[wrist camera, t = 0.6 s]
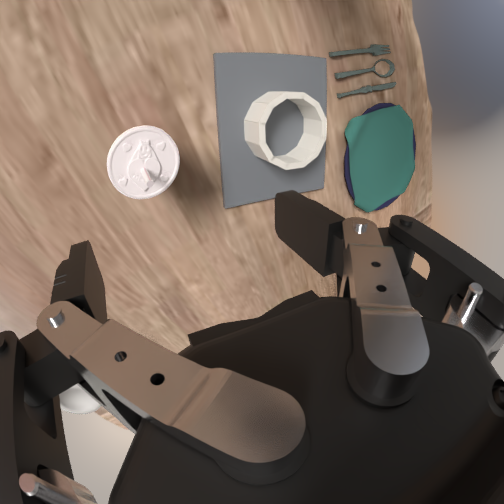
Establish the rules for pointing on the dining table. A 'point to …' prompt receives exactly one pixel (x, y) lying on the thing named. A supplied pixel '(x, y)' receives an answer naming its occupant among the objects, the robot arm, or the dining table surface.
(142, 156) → the smoothie
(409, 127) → the cutlery set
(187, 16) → the dining table surface
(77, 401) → the coffee cup
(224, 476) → the robot arm
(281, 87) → the sleeve stand
